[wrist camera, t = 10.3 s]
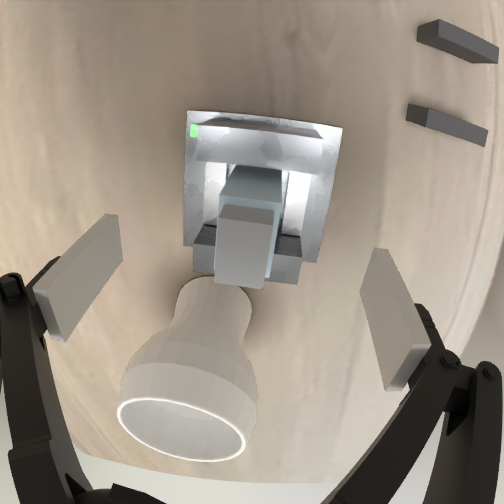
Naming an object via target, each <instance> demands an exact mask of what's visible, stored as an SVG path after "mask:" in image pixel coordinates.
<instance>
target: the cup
mask: <svg viewBox="0 0 504 504" xmlns="http://www.w3.org/2000/svg"><path fill="white" fill-rule="evenodd" d="M251 314H252V307H251V302H250V300H249V298H248V296H247V294H246V293H245V292H244V291H243V290H242V289H241V288H240V287H239V286H234V285H228V284H221V283H215V282H214V277H213V276H208V277H199V278H196V279H193V280H191V281H189V282H188V283H186V284H185V285H184V286H183V288H182V289H181V290H180V293H179V296H178V299H177V303H176V307H175V313H174V318H173V320H172V321H171V323H170V324H169V326H168V327H167V328H166V329H164V330H162V331H161V332H159V333H157V334H155V335H154V336H152V337H151V338H150V339H149V340H148V341H147V342H146V343H145V344H144V345H143V346H142V347H141V348H140V349H139V350H138V351H137V352H136V353H135V354H134V356H133V357H132V358H131V360H130V362H129V364H128V366H127V368H126V370H125V373H124V375H123V377H122V381H121V387H120V394H119V401H118V409H117V416H118V419H119V422H120V424H121V425H122V426H123V427H124V429H125V430H126V431H127V432H128V433H129V434H130V435H132V436H133V437H134V438H135V439H136V440H138V441H140V442H141V443H143V444H144V445H146V446H148V447H150V448H152V449H154V450H156V451H159V452H161V453H164V454H167V455H170V456H173V457H177V458H181V459H186V460H192V461H201V462H214V461H222V460H228V459H231V458H233V457H235V456H238V455H239V454H240V453H241V452H242V451H243V450H244V449H245V447H246V445H247V442H248V440H249V437H250V435H251V432H252V430H253V427H254V425H255V421H256V418H257V413H258V402H259V391H258V386H257V382H256V378H255V375H254V371H253V367H252V363H251V362H250V360H249V358H248V356H247V355H246V353H245V351H244V343H243V337H244V335H245V333H246V330H247V328H248V325H249V322H250V319H251Z"/></svg>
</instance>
